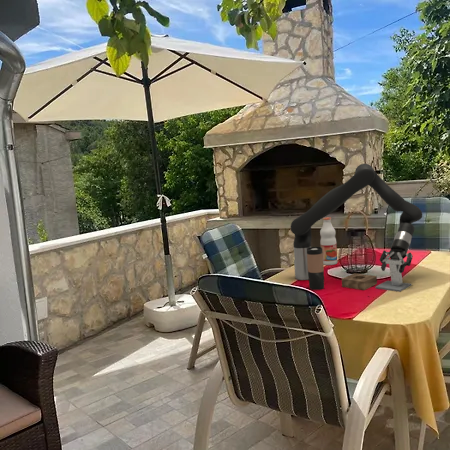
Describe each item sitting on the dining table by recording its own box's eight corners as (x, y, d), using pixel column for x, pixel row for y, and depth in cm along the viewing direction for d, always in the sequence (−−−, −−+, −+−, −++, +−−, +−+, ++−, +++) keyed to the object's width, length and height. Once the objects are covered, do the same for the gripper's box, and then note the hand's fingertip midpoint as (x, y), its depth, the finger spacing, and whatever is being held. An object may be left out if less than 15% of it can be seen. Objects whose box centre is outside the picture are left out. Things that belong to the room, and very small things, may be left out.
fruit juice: (329, 261, 272) (327, 216, 269) (341, 263, 264) (338, 217, 261) (318, 263, 267) (315, 218, 264) (329, 266, 259) (326, 219, 256)
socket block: (342, 286, 215) (341, 278, 215) (354, 280, 223) (354, 273, 223) (364, 290, 207) (364, 281, 206) (377, 284, 215) (376, 276, 214)
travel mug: (325, 285, 220) (322, 246, 217) (324, 290, 213) (321, 249, 210) (309, 285, 222) (307, 247, 219) (308, 290, 215) (305, 250, 212)
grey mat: (375, 288, 208) (375, 286, 208) (387, 282, 216) (387, 280, 216) (400, 291, 199) (400, 290, 199) (411, 285, 208) (411, 283, 207)
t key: (387, 284, 209) (384, 260, 208) (391, 282, 211) (388, 258, 210) (403, 286, 203) (400, 261, 201) (407, 284, 205) (404, 259, 204)
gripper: (384, 237, 215) (374, 265, 209) (413, 239, 205) (403, 268, 199) (390, 246, 220) (380, 273, 213) (418, 248, 209) (409, 277, 203)
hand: (391, 271), depth 206 cm, fingers open, 8 cm apart
